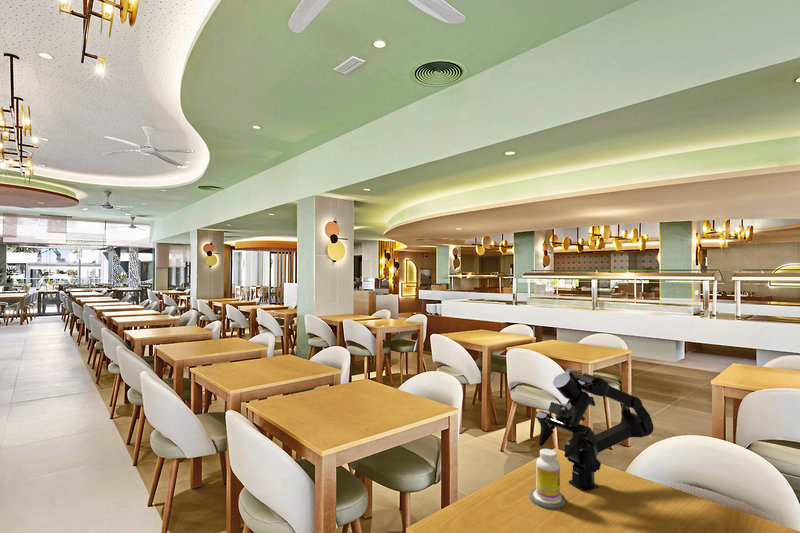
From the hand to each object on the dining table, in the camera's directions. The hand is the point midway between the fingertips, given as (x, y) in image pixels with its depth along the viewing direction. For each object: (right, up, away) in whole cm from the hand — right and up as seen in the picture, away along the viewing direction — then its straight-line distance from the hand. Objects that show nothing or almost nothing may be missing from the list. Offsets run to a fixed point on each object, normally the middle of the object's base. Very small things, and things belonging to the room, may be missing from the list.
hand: (552, 451), depth 124 cm
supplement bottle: (-2, -13, -2) cm, 13 cm away
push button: (-2, -14, -2) cm, 14 cm away
